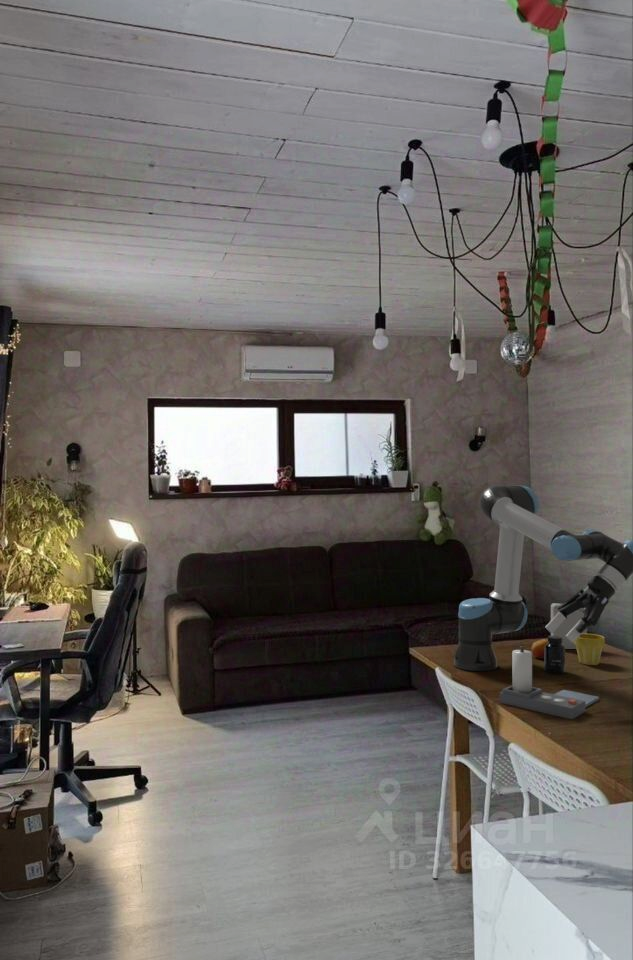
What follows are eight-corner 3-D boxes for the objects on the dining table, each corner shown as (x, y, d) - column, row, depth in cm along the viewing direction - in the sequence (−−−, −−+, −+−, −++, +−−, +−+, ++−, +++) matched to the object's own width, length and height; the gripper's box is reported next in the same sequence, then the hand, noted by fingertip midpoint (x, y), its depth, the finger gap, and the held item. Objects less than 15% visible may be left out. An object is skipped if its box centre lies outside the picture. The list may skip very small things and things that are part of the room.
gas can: (590, 647, 279) (590, 584, 279) (593, 650, 274) (593, 586, 274) (550, 646, 281) (550, 583, 281) (553, 649, 276) (553, 585, 276)
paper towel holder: (509, 692, 208) (508, 646, 208) (517, 688, 212) (517, 643, 212) (526, 696, 204) (526, 649, 204) (535, 692, 208) (535, 646, 208)
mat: (547, 700, 210) (547, 697, 210) (563, 692, 218) (563, 689, 218) (584, 708, 203) (584, 705, 203) (599, 699, 211) (599, 696, 211)
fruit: (556, 658, 256) (544, 637, 258) (537, 666, 260) (525, 646, 262) (561, 653, 263) (549, 634, 265) (542, 662, 266) (531, 642, 269)
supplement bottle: (555, 675, 238) (554, 639, 238) (540, 670, 244) (539, 636, 244) (569, 672, 241) (569, 637, 241) (554, 668, 247) (554, 634, 247)
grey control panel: (499, 702, 208) (499, 689, 208) (513, 695, 215) (513, 682, 215) (572, 719, 193) (572, 704, 193) (585, 711, 200) (585, 697, 200)
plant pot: (597, 659, 260) (597, 632, 260) (609, 666, 250) (609, 639, 250) (569, 659, 260) (569, 633, 260) (581, 666, 249) (580, 639, 249)
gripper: (637, 597, 199) (587, 652, 197) (593, 586, 224) (548, 635, 222) (619, 579, 198) (569, 634, 196) (577, 570, 223) (532, 618, 221)
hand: (558, 634), depth 209 cm, fingers open, 13 cm apart
